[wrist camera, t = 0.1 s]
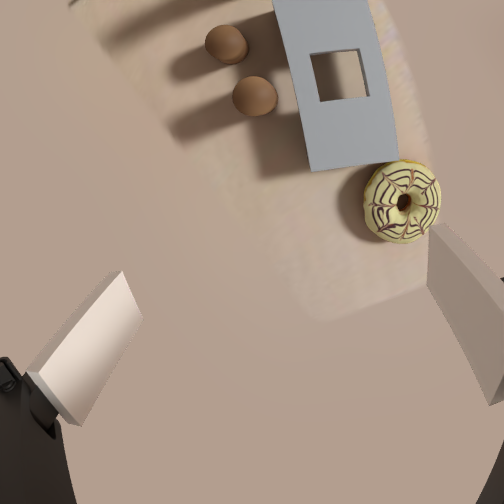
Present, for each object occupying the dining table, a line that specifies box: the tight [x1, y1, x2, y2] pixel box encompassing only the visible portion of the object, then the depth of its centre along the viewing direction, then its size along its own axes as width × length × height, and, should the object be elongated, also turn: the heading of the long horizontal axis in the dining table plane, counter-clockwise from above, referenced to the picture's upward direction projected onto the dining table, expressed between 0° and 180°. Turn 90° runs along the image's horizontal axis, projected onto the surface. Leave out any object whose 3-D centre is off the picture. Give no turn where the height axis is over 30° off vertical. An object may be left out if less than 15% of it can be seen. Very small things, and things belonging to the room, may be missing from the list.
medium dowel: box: [232, 76, 278, 116], centre depth 31 cm, size 4×4×8 cm
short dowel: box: [205, 25, 249, 64], centre depth 30 cm, size 4×4×5 cm
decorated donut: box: [363, 159, 441, 244], centre depth 36 cm, size 10×11×4 cm
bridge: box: [272, 0, 399, 172], centre depth 30 cm, size 20×10×5 cm, turn 12°
